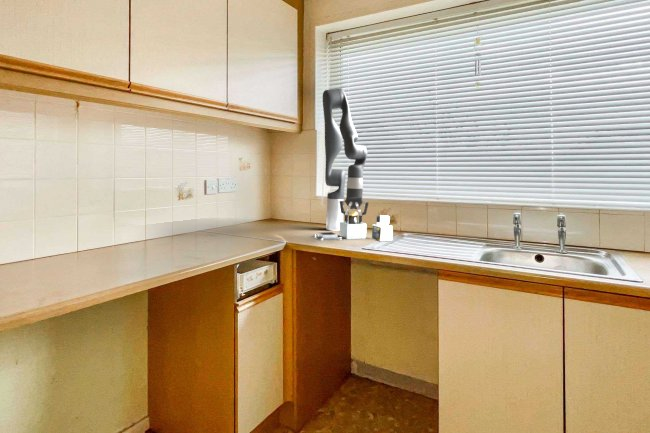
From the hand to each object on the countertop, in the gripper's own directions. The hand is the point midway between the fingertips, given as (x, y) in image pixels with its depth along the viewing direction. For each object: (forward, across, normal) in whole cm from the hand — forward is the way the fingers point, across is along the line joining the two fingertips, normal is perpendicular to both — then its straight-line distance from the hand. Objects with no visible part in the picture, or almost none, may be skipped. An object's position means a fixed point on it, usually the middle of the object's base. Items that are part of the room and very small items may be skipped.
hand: (353, 222), depth 182 cm
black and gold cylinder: (+7, 0, 0) cm, 7 cm away
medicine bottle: (+8, +14, +4) cm, 17 cm away
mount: (+8, -11, -6) cm, 15 cm away
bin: (+8, 0, 0) cm, 8 cm away
